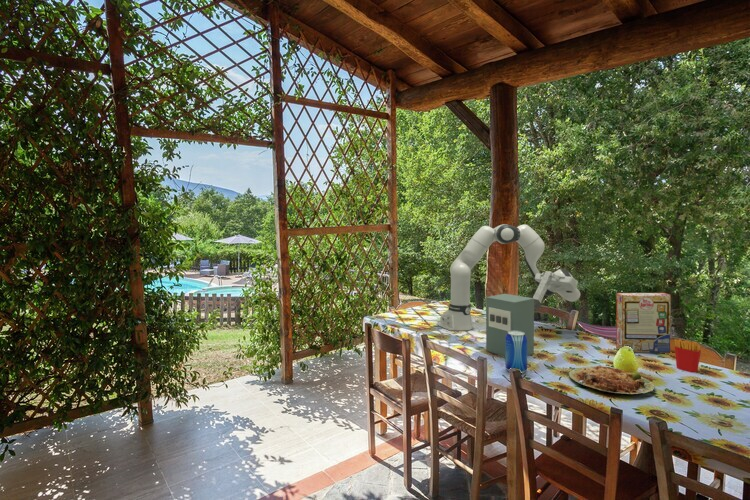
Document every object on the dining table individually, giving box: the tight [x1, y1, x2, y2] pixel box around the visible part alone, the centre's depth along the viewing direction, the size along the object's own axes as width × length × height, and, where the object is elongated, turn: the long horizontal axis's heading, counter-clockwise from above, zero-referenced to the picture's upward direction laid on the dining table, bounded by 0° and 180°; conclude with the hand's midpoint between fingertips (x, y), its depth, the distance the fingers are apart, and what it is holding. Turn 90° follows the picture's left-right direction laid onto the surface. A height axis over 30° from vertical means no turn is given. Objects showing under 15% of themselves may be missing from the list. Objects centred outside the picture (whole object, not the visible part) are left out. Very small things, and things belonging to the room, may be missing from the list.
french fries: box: [673, 338, 702, 374], centre depth 154 cm, size 8×4×12 cm, turn 33°
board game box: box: [615, 292, 672, 354], centre depth 177 cm, size 20×6×27 cm, turn 80°
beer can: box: [504, 331, 528, 375], centre depth 157 cm, size 8×8×16 cm
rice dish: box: [568, 364, 656, 395], centre depth 144 cm, size 28×28×5 cm
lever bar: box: [532, 270, 553, 312], centre depth 192 cm, size 5×22×4 cm
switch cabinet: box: [485, 293, 535, 358], centre depth 179 cm, size 16×16×26 cm
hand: (547, 274), depth 195 cm, fingers closed on lever bar, 3 cm apart
